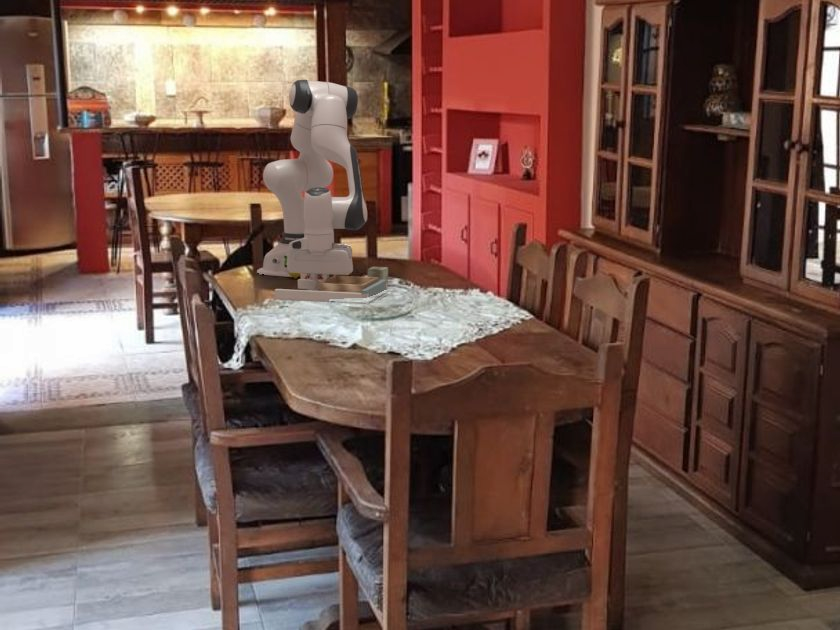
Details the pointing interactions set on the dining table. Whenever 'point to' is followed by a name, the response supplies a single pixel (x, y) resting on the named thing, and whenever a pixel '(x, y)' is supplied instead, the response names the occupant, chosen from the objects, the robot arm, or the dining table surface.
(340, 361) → the dining table surface
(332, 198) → the robot arm
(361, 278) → the crate
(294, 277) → the lemon
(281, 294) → the bay
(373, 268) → the block
